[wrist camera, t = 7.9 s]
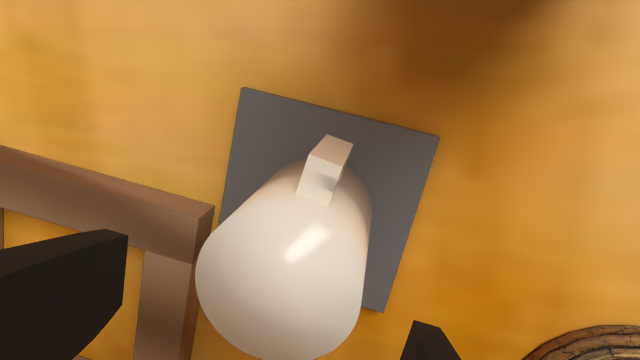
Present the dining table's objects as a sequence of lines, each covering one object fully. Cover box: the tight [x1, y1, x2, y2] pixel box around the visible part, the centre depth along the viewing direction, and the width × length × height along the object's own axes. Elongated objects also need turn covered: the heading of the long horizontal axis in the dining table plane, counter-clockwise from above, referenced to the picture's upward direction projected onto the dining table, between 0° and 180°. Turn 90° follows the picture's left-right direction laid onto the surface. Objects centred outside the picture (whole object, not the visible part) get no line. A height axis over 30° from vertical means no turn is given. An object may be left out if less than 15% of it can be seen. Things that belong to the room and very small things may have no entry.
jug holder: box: [0, 145, 215, 360], centre depth 20 cm, size 13×13×2 cm
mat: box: [218, 87, 440, 313], centre depth 17 cm, size 8×8×1 cm
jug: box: [195, 134, 372, 360], centre depth 14 cm, size 6×5×6 cm
